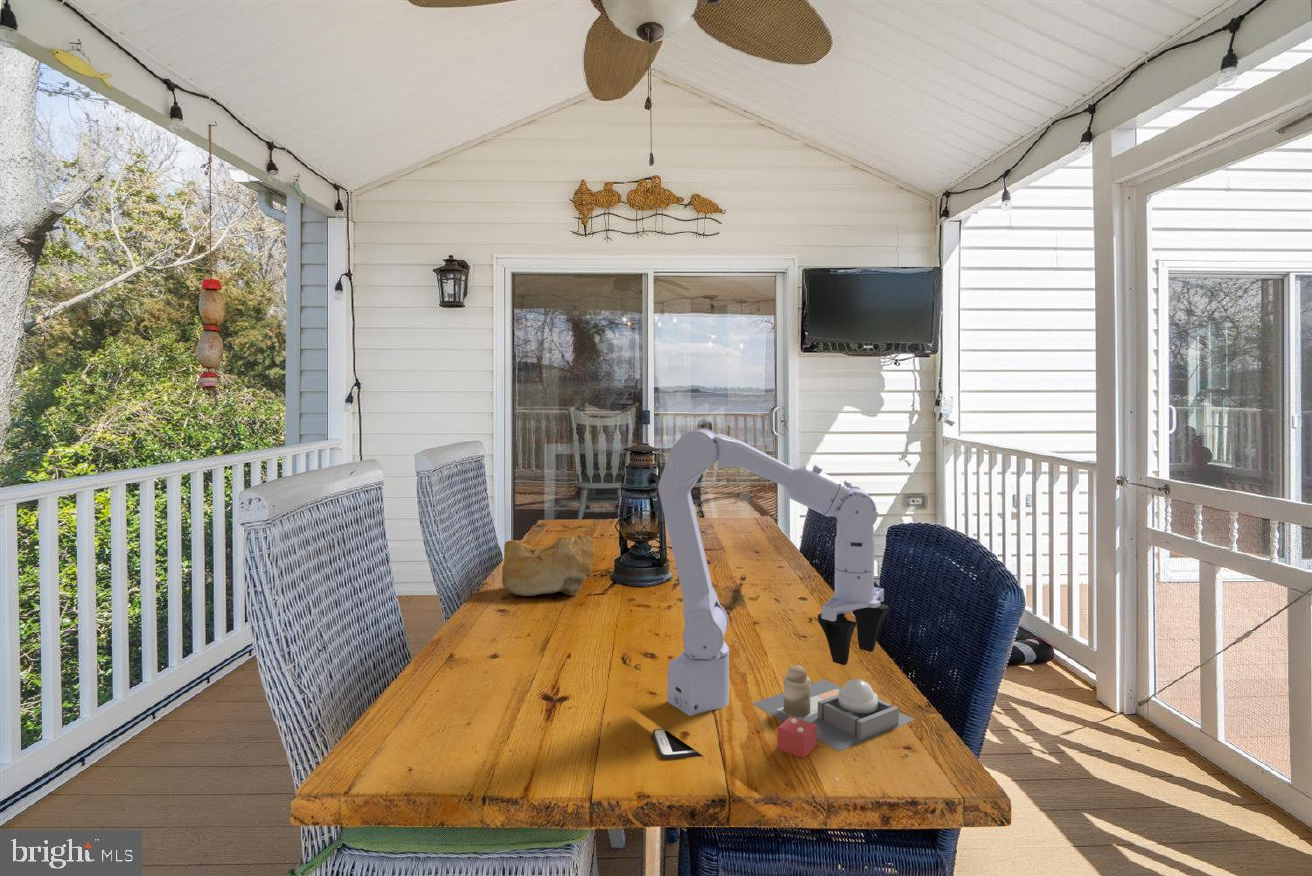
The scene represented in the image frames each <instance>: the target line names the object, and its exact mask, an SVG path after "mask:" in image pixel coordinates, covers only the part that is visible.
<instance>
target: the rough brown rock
mask: <svg viewBox="0 0 1312 876" xmlns="http://www.w3.org/2000/svg"><path fill="white" fill-rule="evenodd" d="M503 549H504V551H503V552H504V553H503V565H502V575H501V576H502V577H501V583H502V586H503V588H504V589H506V590H507V591H509V592H511V594H513V595H515V596H523V597H532V596H533V597H534V596H536V595H544V594H554V593H555V594H556V593H557V592H558V593H559V592H561V593H563V594H565V595H566V596H577V595H578V594H580V591H581V590H582V586H583V585H584V581H585V580H586V579H588V578H590V577H592V574H593V570H594V566H595V555H594V554H595V543H594V541H593V538H592V537H591V536H589V535H585V534H578V535H565V536H562V537H559V538H558V539H557V540H556V542H555V543H553V544H552V545H549V546H546V547H541V548H540V547H538V548H533V547H532V546H531V545H528V544H526V543H525V542H524V541H522V540H516V539H510V540H507V541H505V542H504V547H503Z"/></svg>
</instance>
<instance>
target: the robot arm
mask: <svg viewBox="0 0 1312 876" xmlns="http://www.w3.org/2000/svg"><path fill="white" fill-rule="evenodd" d="M717 461H718V463H717V469H719V468H732V467H739V468H742V469H744V470H746V471H749V472H751V473H753V474H755V475H757V476H760V477H763V478H764V479H766V480H769V481H770V482H771V481H772V482H774V483H776V484H777V485H780V486H783V487H785V489H786V491H787V495H788V497H789V499H790V500H792V501H795V502H796V503H798V504H801V505H802V506H805V507H807V508H808V509H811V510H813V511H815V512H817V513H819V514H821V515H823V516H826V517H835V518H836V536H835V539H834V594H833V595H832V596H831V598H829V600H828V601H827V602H826V603H824V604H822V605H821V613H818V614H817V623H818V624H819V625H820V627H821V630H822V631H823V633H824V635H825V637H826V641H827V643H828V648H829V651H830V652H829V653H830V657H831V660H832V662H833V663H835V664H838V665H841V666H847V664H848V662H849V657H850V647H851V640H852V636H853V634H854V631H855V628H856V631H857V642H858V644H857V645H858V648H859V649H860V650H862V651H866V652H870V653H873V652H874V651H875V647H876V643H877V639H878V635H879V633H880V629H881V626H882V624H883V621H884V619H885V618H886V616H887V614H888V613H889V610H890V609H889V605H887V604H884V603H881V602H884V601H885V589H884V588H880V587H875V584H874V583H875V582H874V581H875V538H874V534H875V529H874V528H875V527H874V525H875V524H876V522H877V519H878V516H879V512H878V511H877V505H876V503H875V501H874V500H873V499H872V497H871V496H870V495H869V494H868V493H867V492H866V491H865V490H863V489H861V488H860V487H859V486H853V485H852V483H851V482H850V481H849V480H844V482H843V481H841V480H839V479H836V478H835V477H833V476H831V475H830V474H829V475H828V474H826V473H825V472H823V467H821V466H819V465H817V464H814V465H813V467H812V466H809V465H808V464H806V465H805V464H804V465H802V466H798V467H795V468H794V467H792V466H790V465H788V464H786V463H784V462H783V461H780V460H779V459H778V458H777V459H776V458H775V457H773V456H770V455H769V454H767V453H765V452H763V451H761V450H759V449H757V448H756V447H753V446H751V445H750V444H747V443H746V442H744V441H741V440H739V439H737V438H735V437H732V436H728V435H727V434H722V433H718V434H717V433H716V432H715V431H714V430H711V429H710V428H704V427H699V428H695V429H693V430H691V431H688V432H686V433H684V434H682V435H681V436H680V437H679V439H677V441H676V442H675V443H674V444H673V446H672V447H671V448H670V449H669V451H668V457H667V460H666V462H665V466H664V468H663V471H662V473H661V476H660V479H659V482H658V487H657V489H658V494H659V499H660V504H661V507H662V511H663V516H664V521H665V524H666V528H667V533H668V538H669V542H670V546H671V550H672V554H673V555H672V556H673V558H674V563H675V568H676V572H677V576H678V579H679V580H678V581H679V585H680V588H681V594H682V615H683V620H684V629H683V633H682V641H683V645H684V646H683V651H682V652H681V654H679V656H677V657H675V658H673V659H671V660H670V662H669V663H668V666H667V703H668V704H669V705H672V706H673V707H675V708H676V709H678V710H679V711H681V712H683V714H686V715H687V716H690V717H691V716H695V715H697V714H701V713H704V712H705V713H706V712H708V711H715V710H719V709H720V710H721V709H723V708H725V707H727V706H728V704H729V703H730V647H729V646H728V645H727V643H726V642H725V635H726V631H727V630H728V627H729V616H728V613H727V611H726V610H725V609H724V607H723V606H722V605H721V604H720V601H719V598H718V594H717V592H716V590H715V589H714V587H713V583H712V578H711V575H710V570H709V567H708V566H709V565H708V561H707V558H706V553H705V549H704V545H703V540H702V536H701V531H700V526H699V523H698V518H697V514H696V511H695V505H694V502H693V496H692V493H691V492H692V489H693V487H694V486H696V483H697V482H698V481H699V479H701V475H702V474H704V473H705V472H707V470H708V469H709V468H711V467H712V466H713V465H715V463H716V462H717ZM851 612H853V615H854V618H855V621H852V620H850V619H848V617H847V616H846V614H848V613H851Z"/></svg>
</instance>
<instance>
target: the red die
mask: <svg viewBox="0 0 1312 876" xmlns="http://www.w3.org/2000/svg"><path fill="white" fill-rule="evenodd" d="M776 730H777V731H776V732H777V733H776V735H777V736H776V738H777V739H776V750H779V751H782V752H785V753H786V754H787V753H788V754H791V755H794V756H797V757H800V758H803V759H805V758H806V757H807V756H808V755H809V754H810V753H811V752H812V751H813V750H814V749H816V748H817V742H818V741H817V724H813V723H810V722H806V721H803V720H799V719H796V718H792V717H789V718H788V719H787V720H786V721H785V722H784V721H782V723H781V724H780V725H778V727H777V728H776Z"/></svg>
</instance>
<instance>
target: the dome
mask: <svg viewBox="0 0 1312 876" xmlns="http://www.w3.org/2000/svg"><path fill="white" fill-rule="evenodd" d="M878 699H879V696H878V694H877V693H876V692H874V690H873V688H872V686H871V684H869V683H868V682H866V681H865V680H863V679H860V678H859V679H858V678H854V679H851V680H848V681H847V682H846V683H845V684H844V685H843V689H841V690H840V691H839V692H838V704H839V706H840V707H841V708H843V709H845V710H847V711H850V712H855V713H871V712H874V711H876V710H877V708H878Z"/></svg>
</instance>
